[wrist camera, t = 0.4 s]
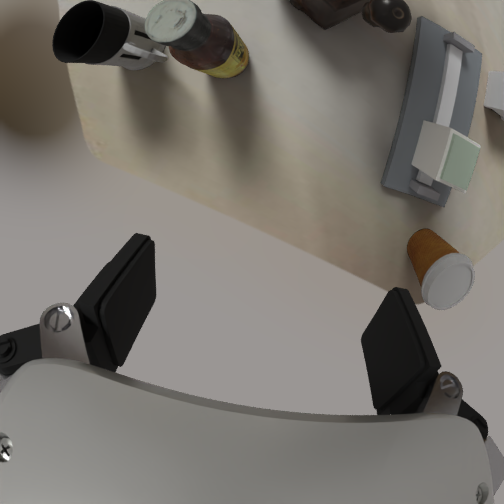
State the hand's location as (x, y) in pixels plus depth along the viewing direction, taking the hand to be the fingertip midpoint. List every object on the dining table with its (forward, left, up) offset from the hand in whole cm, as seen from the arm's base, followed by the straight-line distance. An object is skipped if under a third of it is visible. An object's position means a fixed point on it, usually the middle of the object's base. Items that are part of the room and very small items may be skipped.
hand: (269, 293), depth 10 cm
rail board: (-13, +22, -30) cm, 40 cm away
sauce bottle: (-12, -9, -31) cm, 34 cm away
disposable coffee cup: (+9, +28, -31) cm, 42 cm away
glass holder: (-13, -20, -31) cm, 39 cm away
